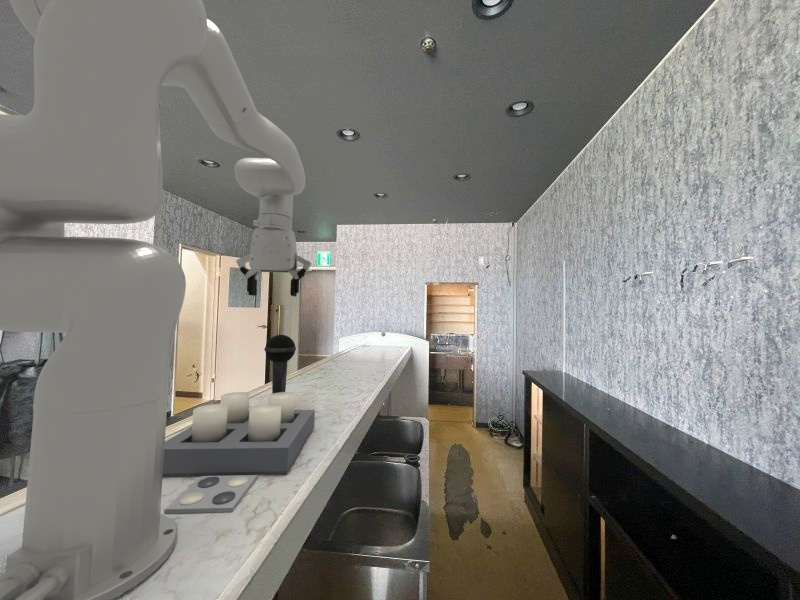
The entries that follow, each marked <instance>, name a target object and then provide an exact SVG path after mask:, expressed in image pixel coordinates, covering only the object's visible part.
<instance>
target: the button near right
mask: <svg viewBox="0 0 800 600" xmlns="http://www.w3.org/2000/svg"><path fill="white" fill-rule="evenodd" d="M280 424H281V406H280V405H278V404H268V403H265V404H263V403H262V404H258V405H253V406H252V407H249V428H248V441H249V442H272V441H275V440H277V439H278V438H279V437H280Z"/></svg>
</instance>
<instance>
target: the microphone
mask: <svg viewBox="0 0 800 600" xmlns="http://www.w3.org/2000/svg"><path fill="white" fill-rule="evenodd" d="M296 350H297V347H296V345H295V342H294V340H293V339H292V338H291V337H290V336H288V335H285V334H277V335H274V336H272V337H270V339H269V340H268V341H267V342H266V344H265V347H264V352H265V355H266V358H267V359H269V360H270V361H271V362H272V364H271V365H272V366H271V367H272V368H271V369H272V370H271V371H272V372H271V373H272V374H271V375H272V376H271V377H272V378H271V379H272V381H271V382H272V383H271V384H272V385H271V386H272V387H271V390H272V391H271V394H273V393H279V392H286V388H287V387H286V386H287V376H288V375H287V374H288V362H289V361H290V360H291V359H292V358H293V356H294V355H295V352H296Z"/></svg>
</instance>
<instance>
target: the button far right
mask: <svg viewBox="0 0 800 600" xmlns="http://www.w3.org/2000/svg"><path fill="white" fill-rule="evenodd" d="M295 402H296V394H295V393H294V392H289V391H285V392H279V393H273V394H272V393H270V394H268V397H267V404H278V405H280V406H281V423H290V422H292V421H294V410H296V409H295V405H296V403H295Z"/></svg>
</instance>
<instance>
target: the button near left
mask: <svg viewBox="0 0 800 600" xmlns="http://www.w3.org/2000/svg"><path fill="white" fill-rule="evenodd" d="M227 413H228V406H227V405H225V404H221V403H216V404H215V403H214V404H213V403H212V404H206V405H200V406H197V407H195V408H194V409H193V411H192V424H191V426H192V441H191V442H192V443H194V442H218V441H221V440H222V439H224V438H225V437H226V434H227Z"/></svg>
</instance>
